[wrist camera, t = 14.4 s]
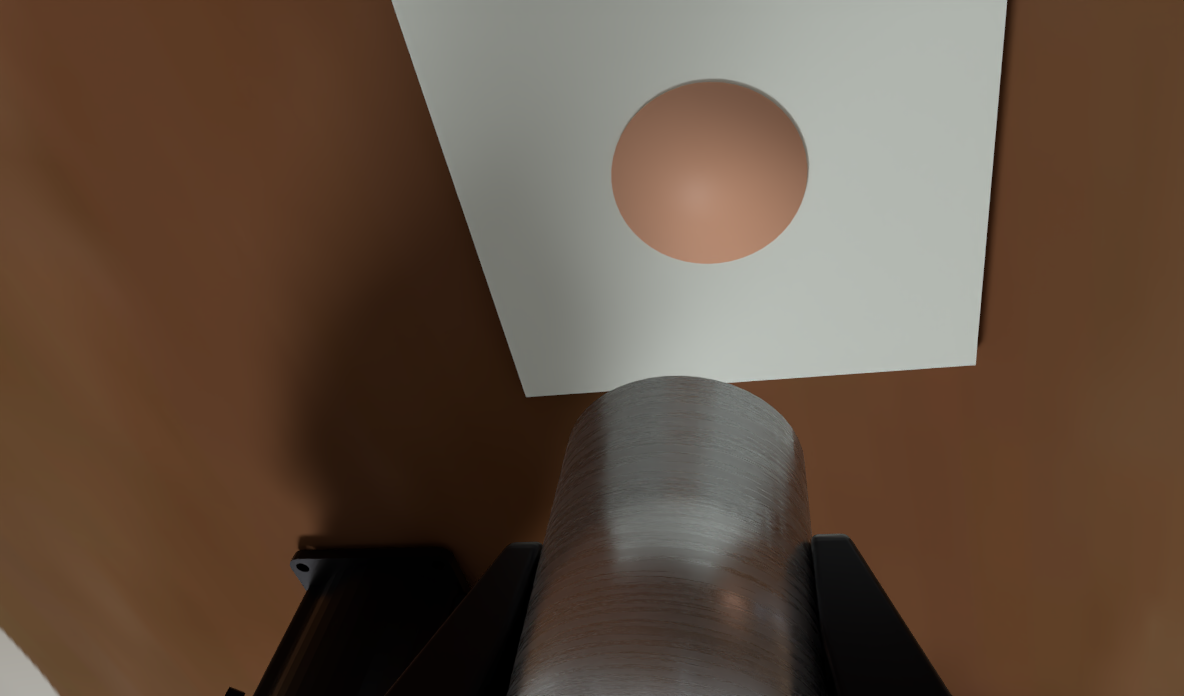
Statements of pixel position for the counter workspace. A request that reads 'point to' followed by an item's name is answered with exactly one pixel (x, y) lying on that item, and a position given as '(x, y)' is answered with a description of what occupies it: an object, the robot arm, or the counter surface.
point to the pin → (676, 553)
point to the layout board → (719, 180)
